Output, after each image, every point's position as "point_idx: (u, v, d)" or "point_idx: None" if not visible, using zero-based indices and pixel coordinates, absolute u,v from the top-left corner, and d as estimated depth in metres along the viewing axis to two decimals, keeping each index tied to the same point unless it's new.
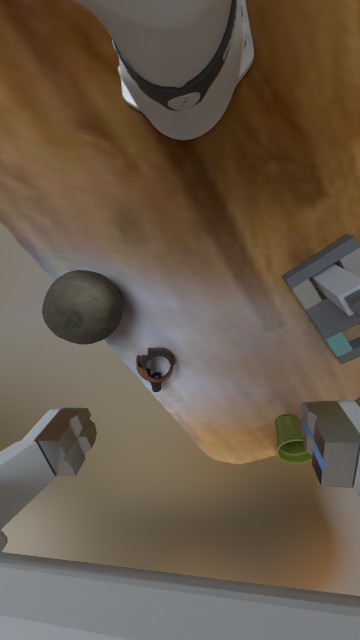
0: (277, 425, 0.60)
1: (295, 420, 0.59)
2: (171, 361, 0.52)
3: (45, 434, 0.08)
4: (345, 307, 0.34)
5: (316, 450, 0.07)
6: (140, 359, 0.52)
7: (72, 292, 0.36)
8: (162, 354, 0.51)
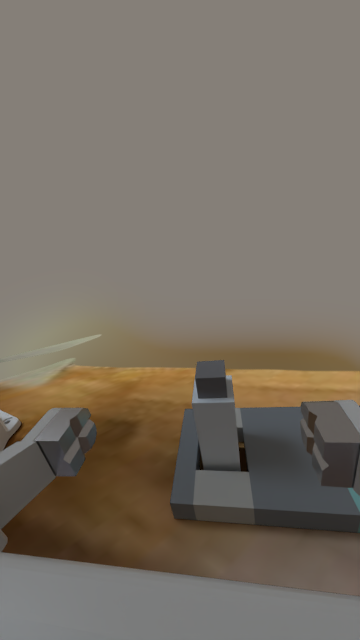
0: None
1: None
2: None
3: (45, 434, 0.08)
4: (216, 401, 0.21)
5: (316, 450, 0.07)
6: None
7: None
8: None
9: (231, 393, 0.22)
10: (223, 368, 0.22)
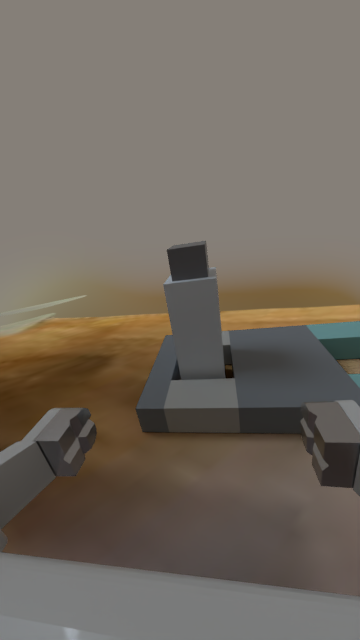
0: None
1: None
2: None
3: (45, 434, 0.08)
4: (193, 280, 0.17)
5: (316, 450, 0.07)
6: None
7: None
8: None
9: (213, 274, 0.17)
10: (203, 242, 0.17)
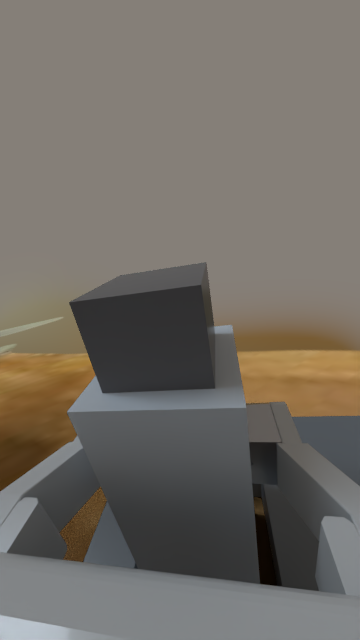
0: None
1: None
2: None
3: None
4: (164, 403, 0.05)
5: None
6: None
7: None
8: None
9: (232, 372, 0.05)
10: (199, 271, 0.05)
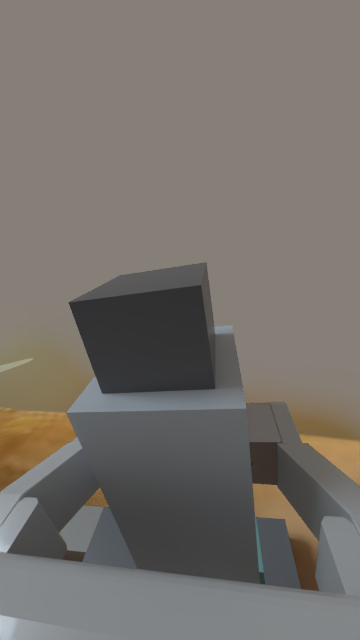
0: None
1: None
2: None
3: None
4: (164, 404, 0.05)
5: None
6: None
7: None
8: None
9: (232, 372, 0.05)
10: (199, 271, 0.05)
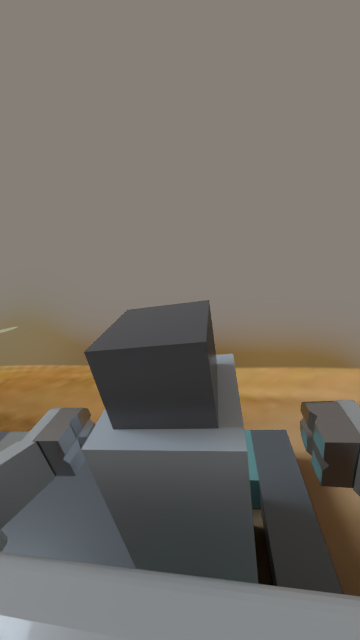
0: None
1: None
2: None
3: (45, 434, 0.08)
4: (172, 444, 0.05)
5: (316, 450, 0.07)
6: None
7: None
8: None
9: (233, 410, 0.06)
10: (203, 317, 0.06)
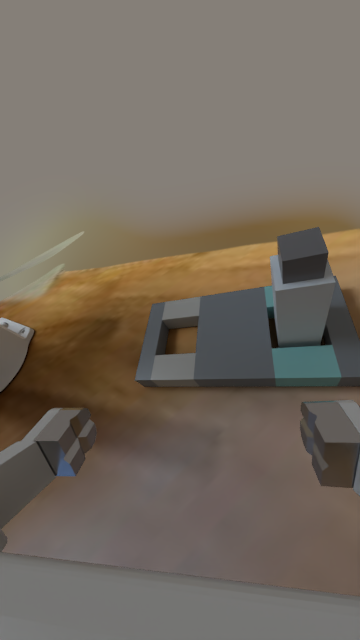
0: None
1: None
2: None
3: (45, 434, 0.08)
4: (308, 284, 0.17)
5: (316, 450, 0.07)
6: None
7: None
8: None
9: (328, 271, 0.17)
10: (321, 239, 0.16)
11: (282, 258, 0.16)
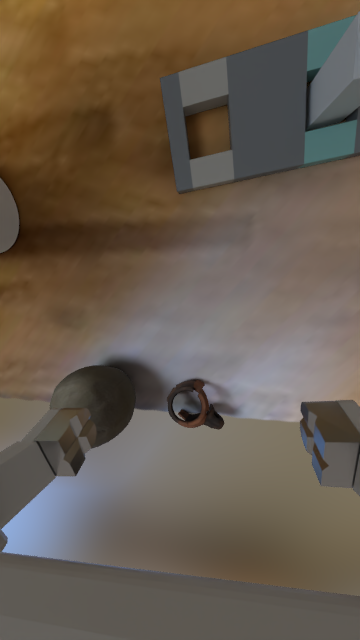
0: None
1: None
2: (190, 388, 0.42)
3: (45, 434, 0.08)
4: None
5: (316, 450, 0.07)
6: None
7: (54, 405, 0.36)
8: (175, 392, 0.43)
9: None
10: None
11: None
